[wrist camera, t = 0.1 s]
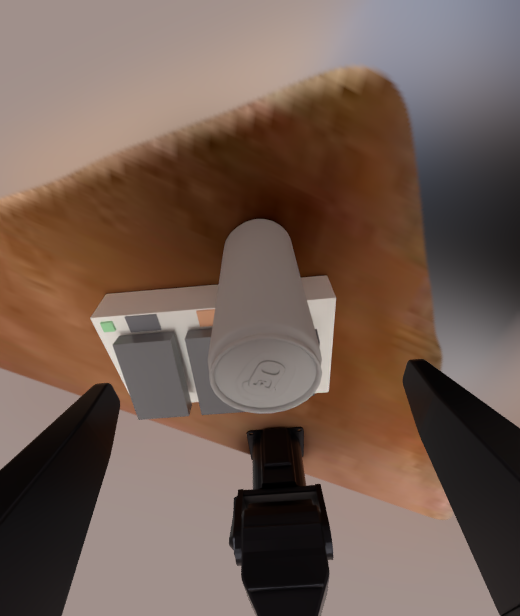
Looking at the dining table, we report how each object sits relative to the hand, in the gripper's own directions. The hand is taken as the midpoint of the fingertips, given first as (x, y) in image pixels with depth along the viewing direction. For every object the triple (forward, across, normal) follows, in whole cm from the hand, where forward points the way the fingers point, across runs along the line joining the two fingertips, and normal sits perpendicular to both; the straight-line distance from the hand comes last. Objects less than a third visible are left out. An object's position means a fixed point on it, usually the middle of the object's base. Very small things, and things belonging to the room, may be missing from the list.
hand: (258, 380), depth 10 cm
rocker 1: (+10, +8, +10) cm, 16 cm away
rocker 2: (+10, +3, +10) cm, 14 cm away
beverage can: (+14, 0, +2) cm, 15 cm away
